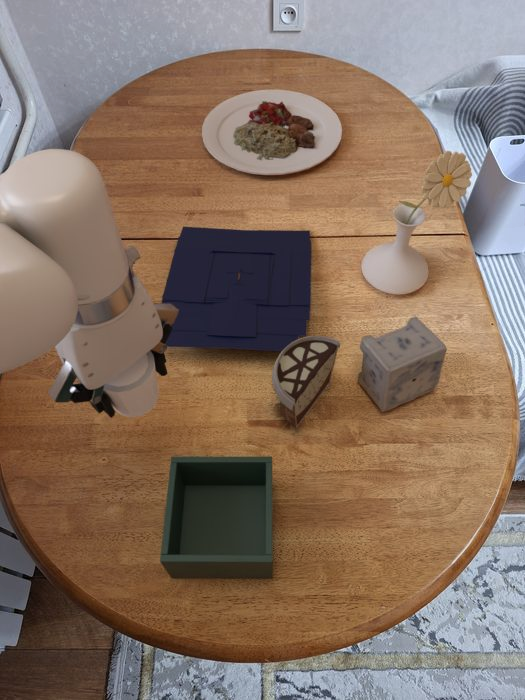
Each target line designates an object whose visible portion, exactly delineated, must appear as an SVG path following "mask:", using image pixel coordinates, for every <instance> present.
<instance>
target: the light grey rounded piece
mask: <svg viewBox="0 0 525 700" xmlns="http://www.w3.org/2000/svg"><path fill="white" fill-rule="evenodd" d="M159 389H160V388H159V383H158V376H157V371H156V369H155V362H154V356H153V354H152V352H151V351H149V352H147V353H146V354H145V355H144V356H142V357H141V358H140V359H138V360H137V361H136V362H134V363H133V364H132V365H130V366H129V367H128V368H126V369H125V370H124V371H122V372H121V373H120V374H118V375H117V376H116V377H114V378H113V379H112V380H110V381H109V382H107V383H106V384H105V385H104V390H103V393H104V394H105V395H106V396H107V397H108V398H109V400H110V402H111V404H112V407H113V409H114V411H115V412H117V413H118V414H119V415H121V416H123V417H127V418H132V419H133V418H139V417H142V416H144V415H146V414H148V413H150V412H151V411H152V410H153V409H154V408H155V407H156V406H157V404H158V400H159V399H160V392H159V391H160V390H159Z"/></svg>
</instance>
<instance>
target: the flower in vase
mask: <svg viewBox="0 0 525 700" xmlns="http://www.w3.org/2000/svg"><path fill="white" fill-rule="evenodd" d="M425 174H426V175H425V176H424V177H423V178H422V182H423V183H422V187H421V190H420V191H421V193H422V194H423V198H422V199H421V201H419V203H418V204H417V205H416V204H414V203H412V202H409V201H407V200H406V201H405V200H399V201H398V203H401V204H399V205H397V206H395V208H393V211H392V218H393V220H394V221H395V222H396V235H395V239H394V242H393V241H391V242H383V243H381V244H378V245H375V246H374V247H372V248H371V249H369V250H368V251H367V253H366V254H365V255H364V257H363V258H362V260H361V266H360V267H361V272H362V275H363V277H364V279H365V280H366V281H367V282H368V284H370V285H371V286H372V287H373V288H375V289H376V290H378V291H380V292H382V293H386V294H389V295H406V294H410V293H413V292H415V291H418V290H419V289H420V288H422V287H423V286H424V284H426V282H427V280H428V278H429V267H428V266H429V265H428V263H427V260H426V259H425V257H424V256H423V255H422V253H420V252H419V250H417V249H415V248H414V247H412V246H411V245H410V240H411V238H412V234H413V233H414V231H415V229H416V228H417V227H418V226H420V225H421V224H423V223H424V222H425V221H426V219H427V217H426V216H427V215H426V212H425V211H424V209H423V208H421V207H420V206H421V205H422V204H423V203H424V202H425V201H426V200H427V201H426V203H427V206H431V207H432V208H436V209H437V208H440V209H450V208H451V207H452V205H454V203H457V204H458V203H460V202H461V200H462V197H465V196H466V195H467V193H468V192H467V189H468V188H470V187H471V185H472V182H471V180H470V179H471V178H472V176H473V173H472V167H471V164H470V162H469V161H468V160H467V155H466V154H465V153H463V152H458V151H454V152H453V153H452V150H445V151H444V152H443V153H441V154H439V156H438V158H437V160H431V162H430V163H429V165H428V166H427V168H426V169H425Z"/></svg>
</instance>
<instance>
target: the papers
mask: <svg viewBox="0 0 525 700" xmlns="http://www.w3.org/2000/svg"><path fill="white" fill-rule="evenodd" d="M175 245H176V246H175V248H174V252H173V255H172V258H171V259H172V260H171V264H170V267H169V271H168V275H167V279H166V282H165V286H164V290H163V294H162V297H161V304H165V303H170V304H172V305H173V306H175V307H176V308H177V309H178V310H179V313H178V315H177V317H176V319H175V321H174V324H172V325H171V327H172V331H171V333H170V335H169V337H168V339H167V341H166V343H165V344H166V345H167V348H168V347H171V348H200V349H229V350H230V349H231V350H250V351H268V352H269V351H270V352H282V351H283V350H284V349H285V348H286V347H287V346H288V345H289V344H291V343H292V342H294V341H296V340H298V339H299V337H307V331H308V330H307V328H308V321H310V320H311V305H312V303H311V301H312V300H311V299H312V241H311V230H295V229H294V230H289V229H288V230H287V229H286V230H283V229H281V230H279V229H275V230H274V229H273V230H272V229H271V230H270V229H263V230H262V229H261V230H260V229H232V228H230V229H229V228H214V227H199V226H198V227H197V226H196V227H195V226H182V228H181V231H180V235H179V236H178V238H177V241H176V244H175Z"/></svg>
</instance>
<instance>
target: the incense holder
mask: <svg viewBox="0 0 525 700" xmlns="http://www.w3.org/2000/svg"><path fill="white" fill-rule="evenodd" d="M359 349H360V351H361V352H362V360H361V361H362V363H361V371H360V372H359V373H358V378H357V382H358V383H359V384H360V386H361V388H363V389H364V390H365V392H366V393H367V394H368V396H369V397H370V398H371V399H372V401H373V402H374V403H375V405H376V406H377V407H378V408H379V410H380V411H381V412H384V413H385V412H388V411H390V410H392V409H394V408H397V407H399V406H400V405H402V404H405V403H408V402H411V401H413V400H415V399H416V398H418V397H420V396H423V395H425V394H427V393H430V392H432V391H434V390H435V389H436V388H437V386H438V385H439V382H440V379H441V373H442V369H443V366H444V362H445V357H446V354H447V350H448V348H447V346H446V344H445V342H443V341H442V340H441V339H440V337H438V336H437V334H435V333H434V332H433V331H432V330H431V329H430V328H429V327H428V326H427V325H426V324H425V323H424V322H423V321H422V320H421V319H420V318H419V317H418V316H412V317H410V318H409V320H408V321H406V325H403V326H402V327H400V328H397V329H395V330H392V331H390V332H386V333H385V334H382V335H379V336H377V337H375V336H373V335H371V334H369V335H365V336H362V338H361V341H360V345H359Z"/></svg>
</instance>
